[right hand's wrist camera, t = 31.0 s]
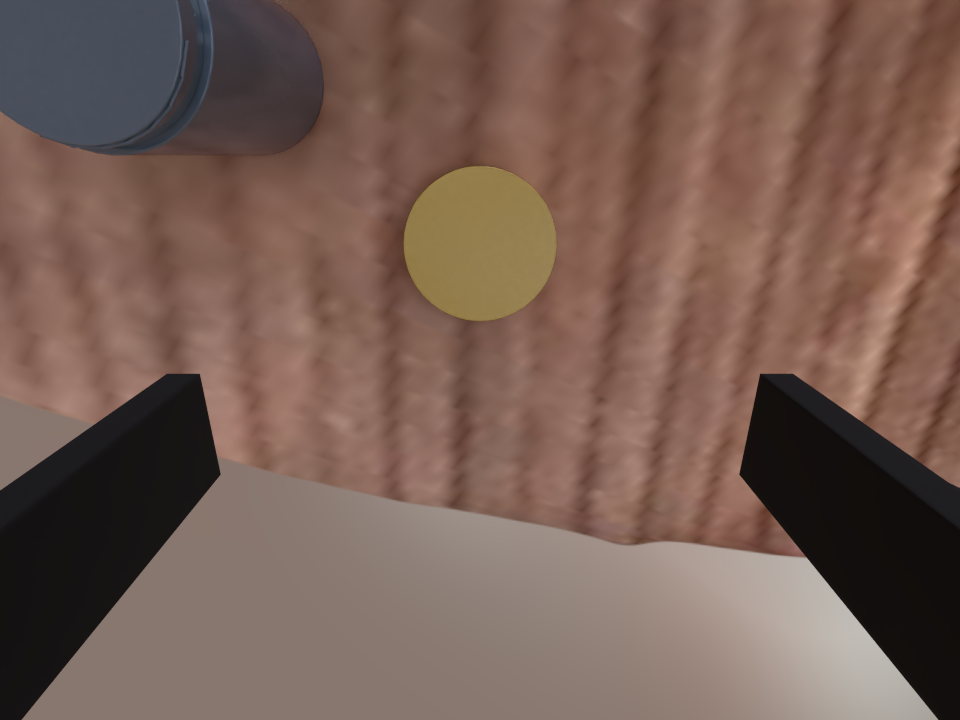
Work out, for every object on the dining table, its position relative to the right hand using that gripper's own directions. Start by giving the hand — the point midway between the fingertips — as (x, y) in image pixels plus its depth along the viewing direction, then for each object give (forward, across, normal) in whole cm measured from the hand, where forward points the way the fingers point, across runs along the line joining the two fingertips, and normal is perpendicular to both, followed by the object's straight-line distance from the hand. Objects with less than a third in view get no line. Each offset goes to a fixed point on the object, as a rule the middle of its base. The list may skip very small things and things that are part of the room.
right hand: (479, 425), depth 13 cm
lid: (+26, 0, 0) cm, 26 cm away
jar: (+28, +15, -11) cm, 34 cm away
